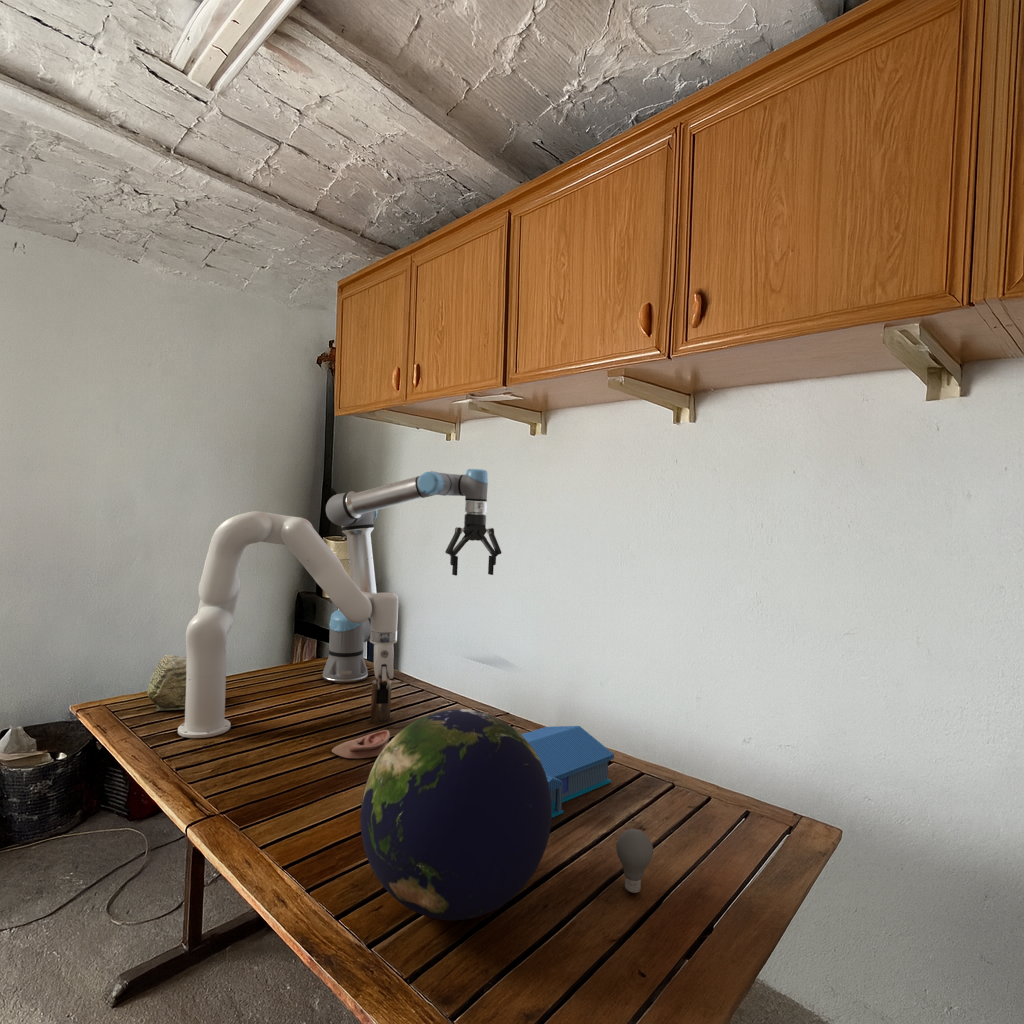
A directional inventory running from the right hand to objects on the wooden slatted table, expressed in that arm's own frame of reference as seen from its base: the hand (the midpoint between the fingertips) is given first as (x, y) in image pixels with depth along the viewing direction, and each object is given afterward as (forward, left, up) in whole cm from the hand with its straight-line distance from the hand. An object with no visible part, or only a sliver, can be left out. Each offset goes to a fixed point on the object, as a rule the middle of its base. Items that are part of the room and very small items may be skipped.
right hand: (472, 574), depth 220 cm
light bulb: (+119, -21, -38) cm, 126 cm away
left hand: (+26, -38, -32) cm, 56 cm away
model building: (+80, -21, -38) cm, 91 cm away
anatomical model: (+45, -48, -38) cm, 76 cm away
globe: (+110, -49, -38) cm, 126 cm away
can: (+26, -38, -38) cm, 60 cm away
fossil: (-5, -88, -38) cm, 96 cm away
